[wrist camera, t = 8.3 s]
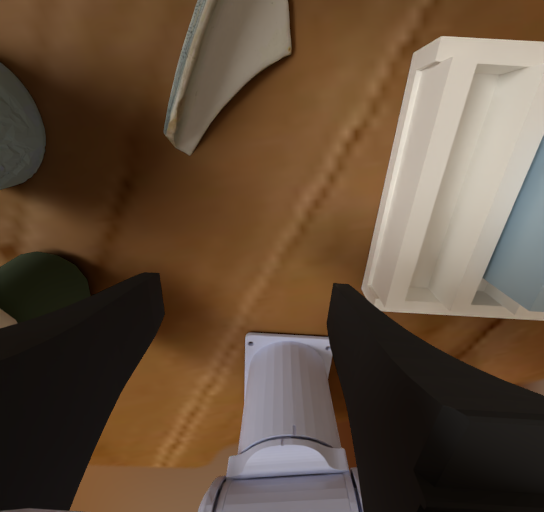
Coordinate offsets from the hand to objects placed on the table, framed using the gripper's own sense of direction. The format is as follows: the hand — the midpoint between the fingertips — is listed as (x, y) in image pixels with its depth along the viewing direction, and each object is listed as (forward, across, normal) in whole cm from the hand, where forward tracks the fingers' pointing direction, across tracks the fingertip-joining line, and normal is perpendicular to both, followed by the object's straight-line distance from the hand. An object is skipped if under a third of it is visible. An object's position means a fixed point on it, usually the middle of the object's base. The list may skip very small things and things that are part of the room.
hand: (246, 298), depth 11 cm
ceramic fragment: (+11, +3, -11) cm, 16 cm away
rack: (+10, -16, -3) cm, 19 cm away
